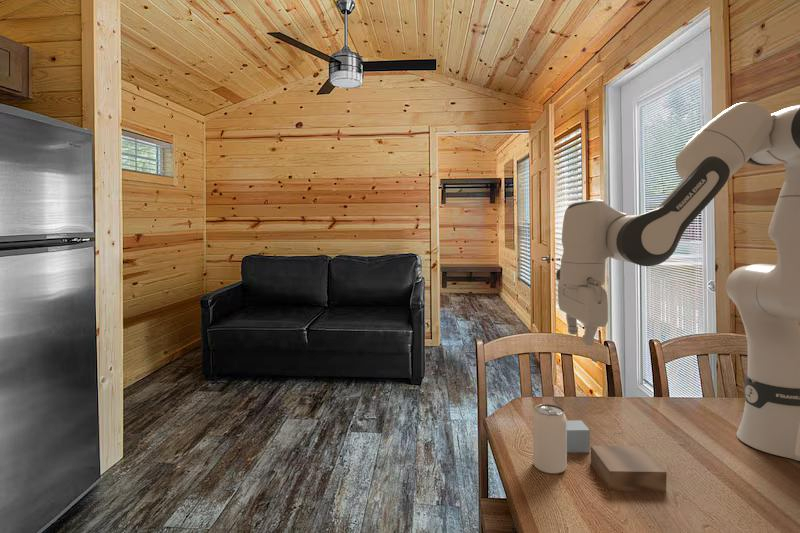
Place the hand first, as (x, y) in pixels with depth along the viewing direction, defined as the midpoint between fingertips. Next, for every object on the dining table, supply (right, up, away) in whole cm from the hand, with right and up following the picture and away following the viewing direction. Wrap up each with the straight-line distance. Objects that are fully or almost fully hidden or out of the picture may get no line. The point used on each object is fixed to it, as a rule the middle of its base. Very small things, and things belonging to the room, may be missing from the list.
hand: (580, 338), depth 98 cm
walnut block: (+5, -25, -10) cm, 28 cm away
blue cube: (-1, -24, +2) cm, 24 cm away
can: (-9, -25, -6) cm, 27 cm away
